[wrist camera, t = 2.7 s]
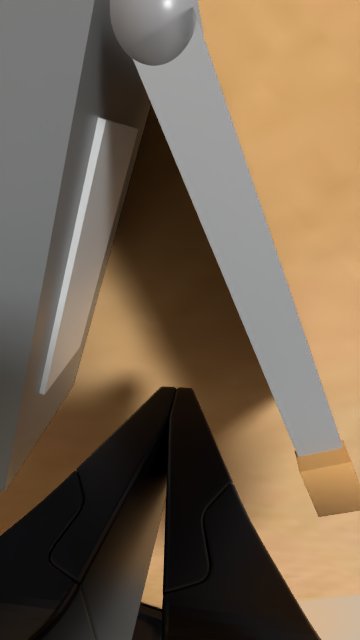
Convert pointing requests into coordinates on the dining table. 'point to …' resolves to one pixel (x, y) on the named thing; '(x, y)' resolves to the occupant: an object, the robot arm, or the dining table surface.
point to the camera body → (57, 198)
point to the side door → (236, 230)
